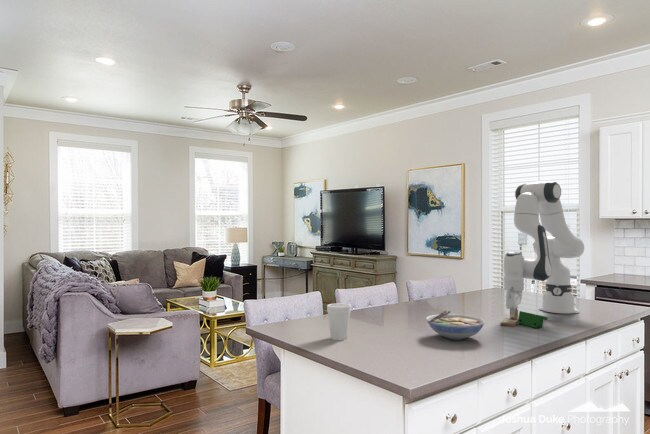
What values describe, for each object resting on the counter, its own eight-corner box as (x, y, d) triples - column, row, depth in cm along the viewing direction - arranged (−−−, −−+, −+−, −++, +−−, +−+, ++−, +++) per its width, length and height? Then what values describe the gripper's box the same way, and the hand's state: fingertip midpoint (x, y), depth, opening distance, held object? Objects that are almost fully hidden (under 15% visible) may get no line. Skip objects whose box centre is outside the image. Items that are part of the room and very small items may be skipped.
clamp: (542, 337, 203) (552, 320, 201) (531, 335, 201) (541, 317, 199) (524, 321, 214) (534, 305, 211) (514, 319, 212) (524, 302, 209)
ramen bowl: (476, 349, 167) (476, 326, 167) (416, 340, 179) (416, 319, 179) (492, 335, 188) (491, 315, 188) (437, 328, 200) (437, 309, 200)
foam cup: (322, 337, 184) (322, 304, 185) (342, 334, 189) (342, 302, 189) (334, 342, 176) (334, 308, 176) (355, 339, 181) (355, 306, 181)
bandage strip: (506, 320, 217) (505, 317, 217) (519, 321, 214) (519, 319, 214) (500, 325, 206) (500, 322, 206) (514, 327, 203) (514, 324, 203)
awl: (510, 319, 221) (510, 300, 221) (518, 319, 219) (518, 300, 219) (509, 320, 217) (509, 301, 218) (517, 321, 216) (517, 301, 216)
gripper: (517, 289, 208) (517, 320, 208) (524, 284, 225) (524, 312, 225) (502, 288, 211) (502, 318, 211) (510, 283, 229) (510, 311, 228)
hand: (513, 315), depth 218 cm, fingers closed on awl, 4 cm apart
